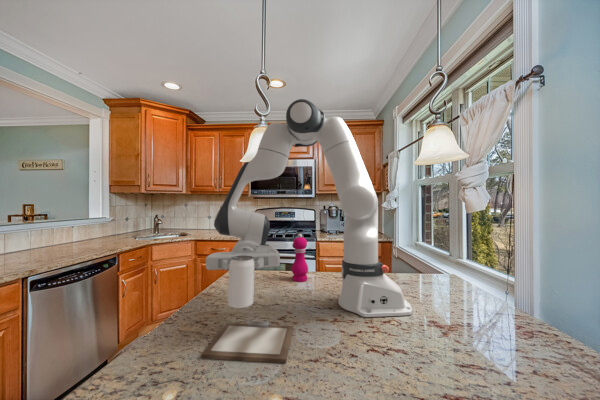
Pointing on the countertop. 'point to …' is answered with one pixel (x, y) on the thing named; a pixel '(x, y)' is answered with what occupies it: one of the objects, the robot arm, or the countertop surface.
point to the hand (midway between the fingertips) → (242, 266)
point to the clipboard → (251, 342)
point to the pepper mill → (299, 260)
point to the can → (241, 282)
